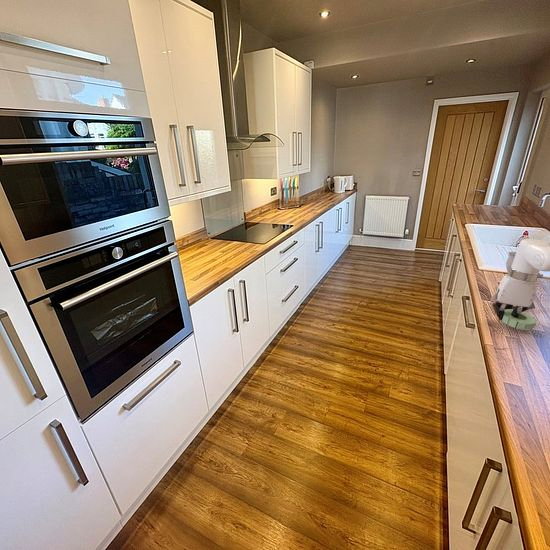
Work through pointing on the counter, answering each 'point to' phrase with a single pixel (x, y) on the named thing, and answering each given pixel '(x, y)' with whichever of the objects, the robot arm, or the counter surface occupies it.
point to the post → (505, 307)
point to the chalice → (510, 260)
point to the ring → (519, 320)
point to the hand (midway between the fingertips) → (505, 319)
